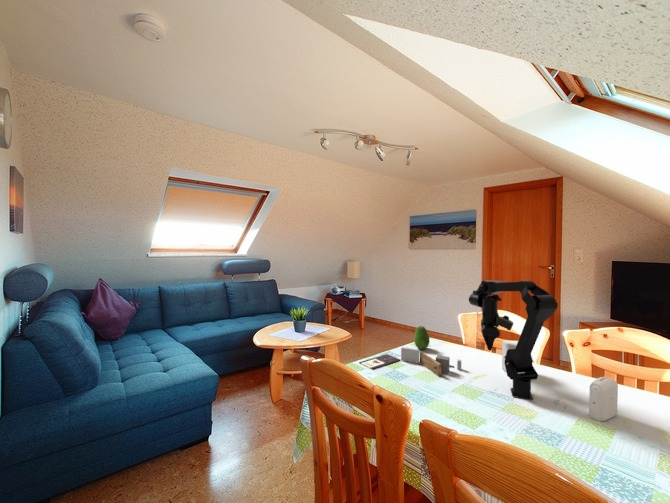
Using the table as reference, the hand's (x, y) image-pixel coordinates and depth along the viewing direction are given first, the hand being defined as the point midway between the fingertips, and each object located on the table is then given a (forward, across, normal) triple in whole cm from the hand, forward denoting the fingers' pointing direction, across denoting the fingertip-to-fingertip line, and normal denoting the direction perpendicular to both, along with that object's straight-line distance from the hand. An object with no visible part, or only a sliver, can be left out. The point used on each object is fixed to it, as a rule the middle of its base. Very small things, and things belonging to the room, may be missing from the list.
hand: (489, 346), depth 129 cm
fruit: (+12, +22, +31) cm, 39 cm away
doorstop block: (+12, -4, +18) cm, 22 cm away
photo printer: (+12, -19, -32) cm, 39 cm away
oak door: (+12, -4, +24) cm, 27 cm away
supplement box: (+12, +8, -10) cm, 18 cm away
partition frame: (+12, +2, +24) cm, 27 cm away
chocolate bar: (+13, -5, +46) cm, 48 cm away
